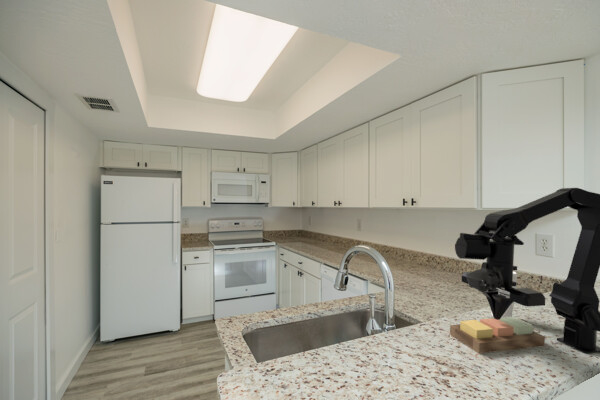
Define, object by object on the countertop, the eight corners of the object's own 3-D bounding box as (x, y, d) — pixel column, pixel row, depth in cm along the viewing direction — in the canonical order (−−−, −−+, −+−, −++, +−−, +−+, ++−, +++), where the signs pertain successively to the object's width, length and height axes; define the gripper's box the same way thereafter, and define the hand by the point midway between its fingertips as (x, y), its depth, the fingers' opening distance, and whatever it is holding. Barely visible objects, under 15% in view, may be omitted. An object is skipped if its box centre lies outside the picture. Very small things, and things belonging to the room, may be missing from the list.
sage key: (513, 326, 75) (513, 316, 75) (532, 335, 70) (533, 325, 70) (499, 327, 74) (499, 317, 74) (517, 336, 69) (518, 326, 69)
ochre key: (475, 329, 72) (475, 319, 72) (492, 339, 67) (493, 328, 67) (459, 331, 71) (460, 321, 71) (476, 341, 66) (476, 330, 66)
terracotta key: (494, 327, 73) (495, 318, 73) (512, 337, 69) (513, 327, 69) (479, 329, 72) (480, 319, 72) (497, 339, 67) (497, 328, 67)
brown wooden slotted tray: (509, 328, 77) (510, 320, 77) (544, 346, 68) (544, 336, 68) (449, 334, 73) (450, 325, 72) (478, 353, 64) (479, 343, 64)
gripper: (446, 253, 77) (444, 306, 78) (510, 271, 59) (507, 340, 59) (478, 252, 80) (475, 304, 80) (548, 269, 62) (545, 336, 62)
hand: (496, 319), depth 70 cm, fingers closed
